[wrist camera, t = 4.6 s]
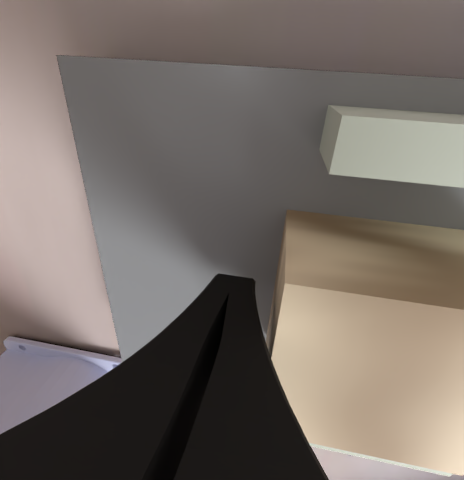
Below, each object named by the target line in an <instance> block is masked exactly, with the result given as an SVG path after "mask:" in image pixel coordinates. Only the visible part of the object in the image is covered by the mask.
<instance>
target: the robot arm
mask: <svg viewBox="0 0 464 480" xmlns="http://www.w3.org/2000/svg"><path fill="white" fill-rule="evenodd" d="M255 284H256V281H255V280H254V279H253V278H247V277H240V276H233V275H227V274H220V273H218V274H217V275H215V276H214V278H213V279H212V280H211V282H210V283H209V284H208V285H207V286H206V287H205V289H204V290H203V291H202V292H201V293H200V294H199V295H198V296H197V298H196V299H195V300H194V301H193V302H192V303H191V304H190V305H189V306H188V307H187V308H186V309H185V310H184V311H183V312H182V313H181V314H180V315H179V316H178V317H177V318H176V319H175V320H174V321H172V322H171V323H170V324H169V325H168V326H167V327H166V328H165V329H164V330H163V331H161V332H160V333H159V334H158V335H157V336H156V337H154V338H153V339H152V340H151V341H150V342H148V343H147V344H146V345H145V346H143V347H142V348H141V349H139V350H138V351H137V352H136V353H134V354H133V355H132V356H130V357H129V358H127V359H126V360H125V361H123V362H122V359H121V358H119V357H113V356H108V355H103V354H98V353H93V352H88V351H83V350H78V349H73V348H68V347H63V346H58V345H53V344H48V343H42V342H37V341H32V340H27V339H22V338H17V337H12V336H9V337H7V338H6V339H5V340H4V341H3V343H4V346H5V347H6V349H7V350H6V351H5V352H4V353H3V354H2V355H1V356H0V480H329V479H328V477H327V476H326V474H325V472H324V470H323V468H322V466H321V465H320V463H319V461H318V459H317V457H316V455H315V454H314V452H313V450H312V448H311V446H310V444H309V442H308V440H307V438H306V436H305V434H304V432H303V430H302V428H301V426H300V424H299V422H298V420H297V418H296V416H295V414H294V412H293V410H292V408H291V406H290V404H289V401H288V399H287V397H286V395H285V392H284V390H283V388H282V385H281V383H280V380H279V378H278V375H277V373H276V370H275V368H274V365H273V362H272V359H271V357H270V354H269V351H268V347H267V344H266V341H265V338H264V334H263V331H262V327H261V323H260V318H259V314H258V309H257V303H256V295H255Z"/></svg>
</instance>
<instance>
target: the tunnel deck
mask: <svg viewBox="0 0 464 480" xmlns="http://www.w3.org/2000/svg"><path fill="white" fill-rule="evenodd" d="M57 60H58V65H59V69H60V74H61V79H62V83H63V88H64V93H65V97H66V102H67V107H68V111H69V116H70V121H71V125H72V130H73V135H74V139H75V144H76V149H77V153H78V158H79V163H80V168H81V172H82V177H83V182H84V186H85V191H86V196H87V200H88V205H89V210H90V214H91V219H92V224H93V228H94V233H95V238H96V242H97V247H98V252H99V256H100V261H101V266H102V270H103V275H104V280H105V284H106V289H107V294H108V298H109V303H110V308H111V312H112V317H113V322H114V326H115V331H116V336H117V340H118V345H119V350H120V354H121V359H122V362H123V361H125V360H126V359H127V358H129V357H130V356H132V355H133V354H134V353H136V352H137V351H138V350H139V349H141V348H142V347H143V346H145V345H146V344H147V343H148V342H150V341H151V340H152V339H153V338H154V337H156V336H157V335H158V334H159V333H160V332H161V331H163V330H164V329H165V328H166V327H167V326H168V325H169V324H170V323H171V322H172V321H174V320H175V319H176V318H177V317H178V316H179V315H180V314H181V313H182V312H183V311H184V310H185V309H186V308H187V307H188V306H189V305H190V304H191V303H192V302H193V301H194V300H195V299H196V298H197V296H198V295H199V294H200V293H201V292H202V291H203V290H204V289H205V287H206V286H207V285H208V284H209V283H210V282H211V280H212V279H213V278H214V276H215V275H217V274H218V273H220V274H227V275H233V276H240V277H247V278H253V279H254V280H255V281H256V284H255V295H256V303H257V309H258V314H259V318H260V323H261V327H262V331H263V334H264V338H265V341H266V338H267V331H268V324H269V318H270V312H271V305H272V299H273V293H274V287H275V280H276V274H277V268H278V262H279V255H280V249H281V243H282V237H283V230H284V224H285V218H286V211H287V210H296V211H305V212H313V213H322V214H330V215H339V216H348V217H356V218H365V219H373V220H382V221H391V222H399V223H408V224H417V225H425V226H434V227H442V228H451V229H460V230H464V79H461V78H444V77H426V76H409V75H392V74H375V73H357V72H340V71H323V70H306V69H288V68H271V67H254V66H237V65H219V64H202V63H185V62H168V61H151V60H133V59H116V58H99V57H82V56H64V55H57ZM309 444H310V446H311V447H316V448H320V449H325V450H330V451H334V452H339V453H343V454H348V455H352V456H357V457H362V458H366V459H371V460H375V461H380V462H384V463H389V464H393V465H398V466H403V467H407V468H412V469H416V470H421V471H425V472H430V473H435V474H439V475H444V476H448V477H450V476H451V475H452V474H451V473H447V472H442V471H438V470H433V469H428V468H424V467H419V466H414V465H410V464H405V463H400V462H396V461H391V460H387V459H382V458H377V457H373V456H368V455H363V454H359V453H354V452H349V451H345V450H340V449H336V448H331V447H326V446H322V445H317V444H312V443H309Z"/></svg>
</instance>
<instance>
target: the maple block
mask: <svg viewBox="0 0 464 480" xmlns="http://www.w3.org/2000/svg"><path fill="white" fill-rule="evenodd" d="M266 344H267V347H268V351H269V354H270V357H271V359H272V362H273V365H274V368H275V370H276V373H277V375H278V378H279V380H280V383H281V385H282V388H283V390H284V392H285V395H286V397H287V399H288V401H289V404H290V406H291V408H292V410H293V412H294V414H295V416H296V418H297V420H298V422H299V424H300V426H301V428H302V430H303V432H304V434H305V436H306V438H307V440H308V442H309V443H312V444H317V445H322V446H326V447H331V448H336V449H340V450H345V451H349V452H354V453H359V454H363V455H368V456H373V457H377V458H382V459H387V460H391V461H396V462H400V463H405V464H410V465H414V466H419V467H424V468H428V469H433V470H438V471H442V472H447V473H451V474H456V475H461V476H463V475H464V230H460V229H451V228H442V227H434V226H425V225H417V224H408V223H399V222H391V221H382V220H373V219H365V218H356V217H348V216H339V215H330V214H322V213H313V212H305V211H296V210H287V211H286V218H285V224H284V230H283V237H282V243H281V249H280V255H279V262H278V268H277V274H276V280H275V287H274V293H273V299H272V305H271V312H270V318H269V324H268V331H267V338H266Z"/></svg>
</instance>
